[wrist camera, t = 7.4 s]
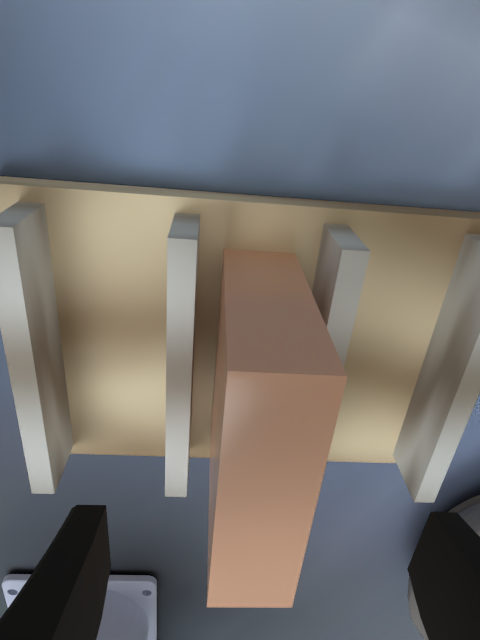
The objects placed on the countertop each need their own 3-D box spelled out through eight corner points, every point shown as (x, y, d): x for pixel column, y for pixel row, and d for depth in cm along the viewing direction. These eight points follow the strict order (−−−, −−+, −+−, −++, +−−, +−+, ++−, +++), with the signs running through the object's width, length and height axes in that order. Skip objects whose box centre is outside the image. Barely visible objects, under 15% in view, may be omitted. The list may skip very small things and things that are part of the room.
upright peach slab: (267, 434, 19) (291, 607, 13) (210, 432, 19) (207, 607, 13) (295, 253, 15) (347, 376, 9) (223, 248, 15) (227, 371, 9)
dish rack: (418, 447, 21) (452, 511, 18) (40, 435, 20) (8, 502, 17) (502, 213, 16) (570, 248, 13) (-2, 175, 15) (-60, 203, 12)
